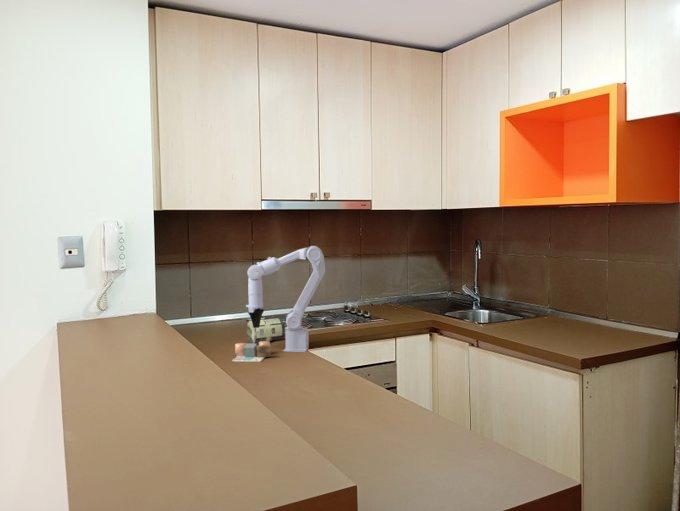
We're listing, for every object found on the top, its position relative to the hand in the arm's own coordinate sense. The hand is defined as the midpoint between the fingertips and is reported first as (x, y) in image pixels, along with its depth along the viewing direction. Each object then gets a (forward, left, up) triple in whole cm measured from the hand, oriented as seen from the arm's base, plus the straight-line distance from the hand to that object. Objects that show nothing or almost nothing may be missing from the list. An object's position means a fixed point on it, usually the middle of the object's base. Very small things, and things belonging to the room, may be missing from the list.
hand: (256, 327), depth 221 cm
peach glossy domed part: (+4, +9, -9) cm, 14 cm away
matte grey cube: (-1, +10, -9) cm, 14 cm away
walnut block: (-6, +11, -9) cm, 15 cm away
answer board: (-1, +10, -10) cm, 14 cm away
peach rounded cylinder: (-5, +5, -9) cm, 12 cm away
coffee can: (+7, -13, -5) cm, 16 cm away
